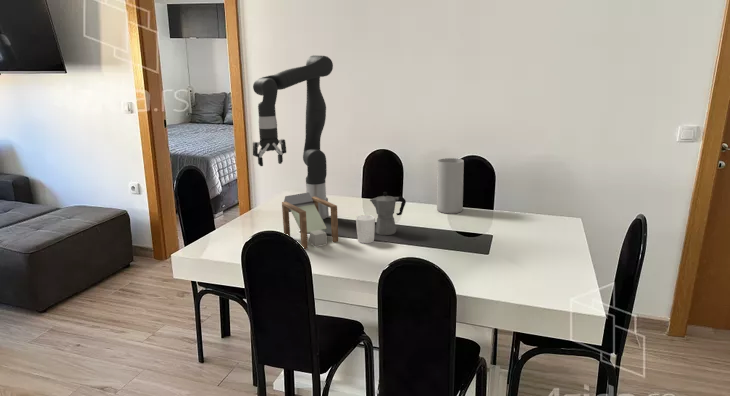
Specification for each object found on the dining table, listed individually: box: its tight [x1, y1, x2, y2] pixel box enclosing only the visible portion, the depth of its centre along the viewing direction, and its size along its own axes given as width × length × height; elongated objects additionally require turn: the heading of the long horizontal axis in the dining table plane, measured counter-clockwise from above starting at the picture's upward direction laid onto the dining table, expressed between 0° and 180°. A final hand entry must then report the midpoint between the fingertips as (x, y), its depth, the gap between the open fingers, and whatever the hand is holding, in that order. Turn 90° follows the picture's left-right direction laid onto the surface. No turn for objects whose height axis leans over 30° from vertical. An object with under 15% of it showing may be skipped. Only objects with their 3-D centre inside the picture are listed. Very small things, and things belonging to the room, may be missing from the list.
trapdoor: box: [283, 192, 328, 235], centre depth 218 cm, size 20×11×5 cm
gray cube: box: [309, 230, 328, 248], centre depth 211 cm, size 5×5×5 cm
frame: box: [281, 196, 339, 250], centre depth 215 cm, size 16×19×16 cm
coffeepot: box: [369, 191, 407, 236], centre depth 222 cm, size 15×9×18 cm, turn 92°
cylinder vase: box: [436, 157, 465, 215], centre depth 251 cm, size 12×12×25 cm
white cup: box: [355, 214, 376, 244], centre depth 212 cm, size 8×8×10 cm
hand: (270, 164), depth 221 cm, fingers open, 8 cm apart
